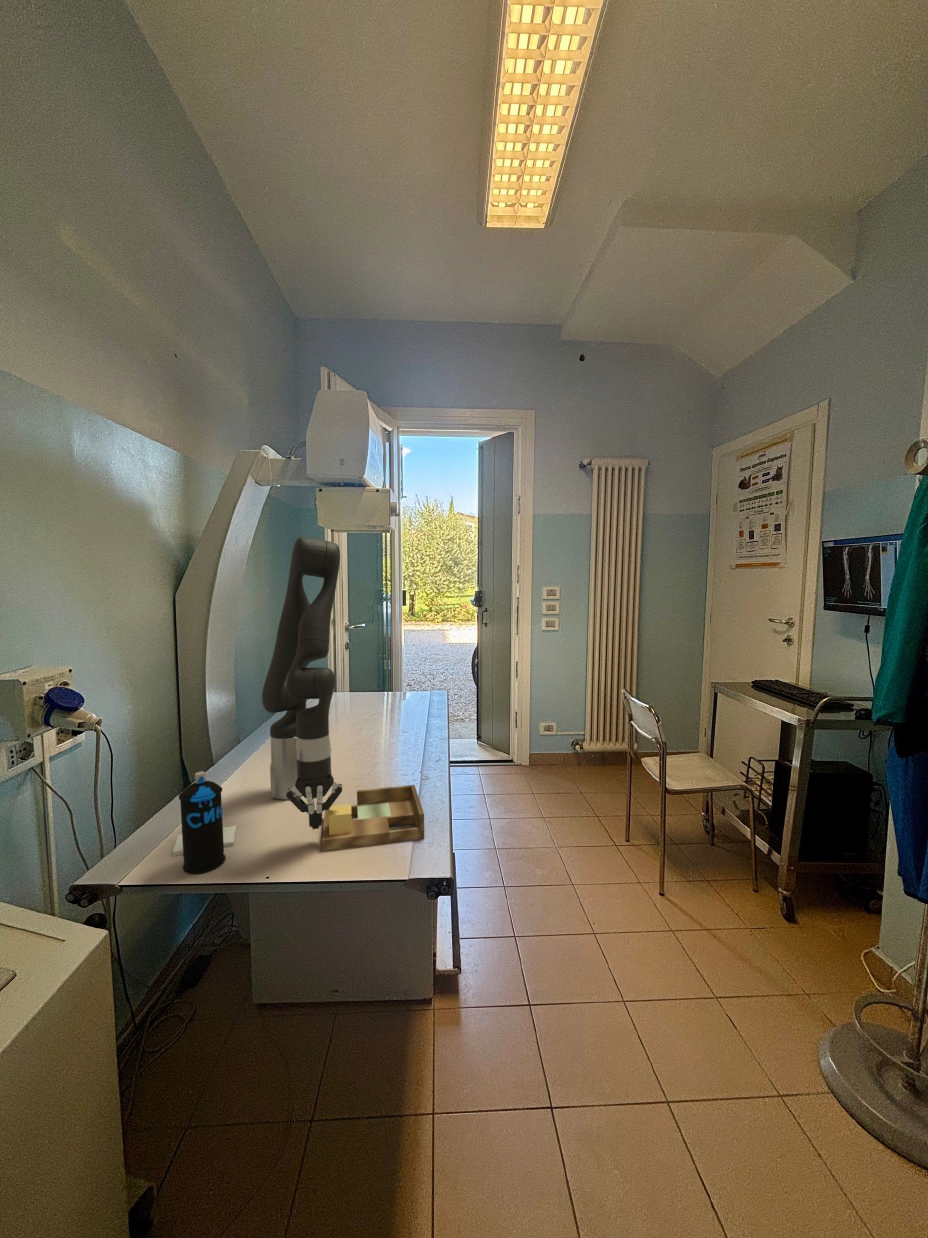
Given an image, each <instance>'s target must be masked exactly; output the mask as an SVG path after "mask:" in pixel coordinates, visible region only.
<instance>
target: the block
mask: <svg viewBox="0 0 928 1238" xmlns="http://www.w3.org/2000/svg"><path fill="white" fill-rule="evenodd" d="M351 806H352V804H340V805H332V806H331V807H330V808H329V835H335V834H343V833H352V816H351Z"/></svg>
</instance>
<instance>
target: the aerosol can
mask: <svg viewBox="0 0 928 1238" xmlns="http://www.w3.org/2000/svg"><path fill="white" fill-rule="evenodd" d="M222 792H223V787H222V786H221V785H219V784H218V783H216V782H214V781H211V780H206V772H205V771H202V770H201V771H197V772H195V773H194V782H193V783H191V784H189V785H187V786H186V787H185V788H184V789H183V790H182V791H181V792H180V794H179V795H178V799H179V801H180V802H179V803H180V817H181V818H180V820H181V834H182V840H183V865H182V871H183V872H185V873H187V874H190V875H200V874H205V873H208V872H212V871H214V870H216V869H218V868H219V867H221V866H222V865H223V864H224V862H225V861H226V859H227V858H226V855H225V847H224V843H223V828H224V825H223V806H222V805H223V804H222V803H223V802H222Z"/></svg>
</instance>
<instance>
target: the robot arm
mask: <svg viewBox="0 0 928 1238" xmlns="http://www.w3.org/2000/svg"><path fill="white" fill-rule="evenodd" d="M293 544H294V545H293V547H292V554H291V559H290V565H289V566H290V567H289V574H288V580H287V586H286V587H287V588H286V592H285V593H286V594H285V598H284V601H283V606H282V610H281V614H280V617H279V623H278V629H277V632H276V637H275V638H276V639H275V644H274V648H273V649H274V650H273V653H272V658H271V662H270V664H269V668H268V671H267V674H266V677H265V679H264V683H263V686H262V691H261V700H262V702H261V703H262V706H263V708H264V710H265V711H266V712H267V713H270V714H277V713H282V712H285V714H284V715H282V717H281V718H279V719H278V720H276V721H275V722H274V723H272V724H271V725H270V728H269V735H270V737H269V738H270V739H269V740H270V742H269V743H270V761H271V762H270V765H269V776H270V797H271V798H270V799H271V800H273V799H278V800H289V801H290V802H291V803H292V804H293V805H294V806H295V807H296V808H297V809H298V811H299V812H300V813H307V814H308V826H309V827H310V828H312V830H318V829H320V827H322V825H323V812H325V810H328V809H329V808H330V807H331V806H333V804H334V803H335V802H336V800H337V799H338V797H339V796H340V795H341V793H342V792H343V784H342V783H337V782H336V781H335V780H334V777H333V775H332V757H331V755H332V754H331V753H332V752H331V751H332V747H331V739H330V730H329V729H330V719H329V718H330V717H329V714H330V707H331V702H332V698H333V695H334V691H335V687H336V682H337V681H336V675H335V673H334V671H333V670H332V669H331V668H329V667H308V666H309V665H310V664H311V663H312V662H315V661H318V660H322V659H324V658H327V656H328V654H329V651H330V635H331V634H330V633H331V631H330V630H331V620H332V619H331V618H332V611H333V605H334V601H335V596H336V591H337V590H336V589H337V584H338V577H339V571H340V563H341V549H340V546H339V545H338V543H337V542H333V541H328V540H323V539H319V538H314V537H308V536H299V537H297V538H296V541H295V542H294V543H293ZM304 576H311V577H315V578H322V579H323V582H322V587H321V589H320V591H319V593H318V594H317V596H316V597H314V600H313V601H312V602H311V603H310V601H309V599H308V597H307V594H306V591H305V588H304V585H303V584H304V583H303V578H304ZM317 699H318V703H317V704H316V705H313V706H310V707H307V700H317ZM330 789H331V794H330V795H328V798H327V799H326V800H325V802H323V800H324V799H323V798H324V797H325V796H326V795H327V793H328V792H329V791H330ZM301 796H302V797H303V798H305V799H306V802H305V801H304V800H303V798H301ZM315 799H316V807H315Z"/></svg>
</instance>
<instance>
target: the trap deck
mask: <svg viewBox="0 0 928 1238" xmlns="http://www.w3.org/2000/svg"><path fill="white" fill-rule="evenodd" d="M351 816H352V833H343V834H335V835H329V809H328V810H324V817H323V828H322V839H321V844H322V845H321V846H322V847H321V848H322V850H321V851H322V852H325V851H334V850H341V849H349V848H350V849H351V848H358V847H366V846H375V845H383V844H390V843H397V842H405V841H406V842H407V841H414V840H415V841H416V840H423V839H425V812H424V810H423V806H422V803H421V801H420V798H419V794H418V791H417V789H416V786H415V784H410V785H409V784H407V785H399V786H387V787H378V788H370V789H358V790H356V805H351Z"/></svg>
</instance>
